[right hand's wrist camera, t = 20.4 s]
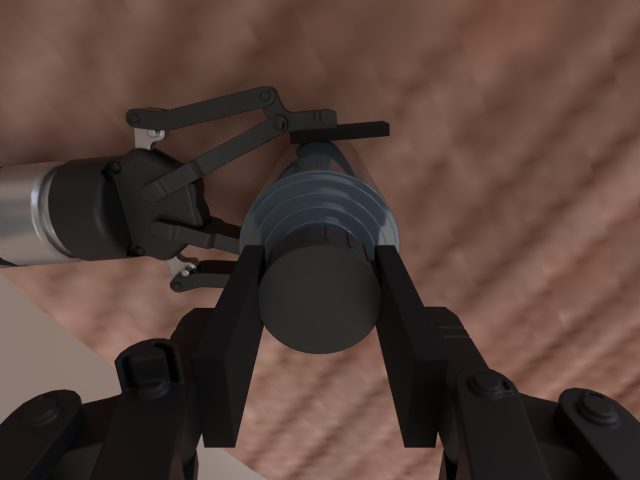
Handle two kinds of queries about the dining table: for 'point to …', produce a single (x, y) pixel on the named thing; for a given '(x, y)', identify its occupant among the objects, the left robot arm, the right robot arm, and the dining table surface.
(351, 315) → the cap
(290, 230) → the bottle
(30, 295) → the dining table surface
